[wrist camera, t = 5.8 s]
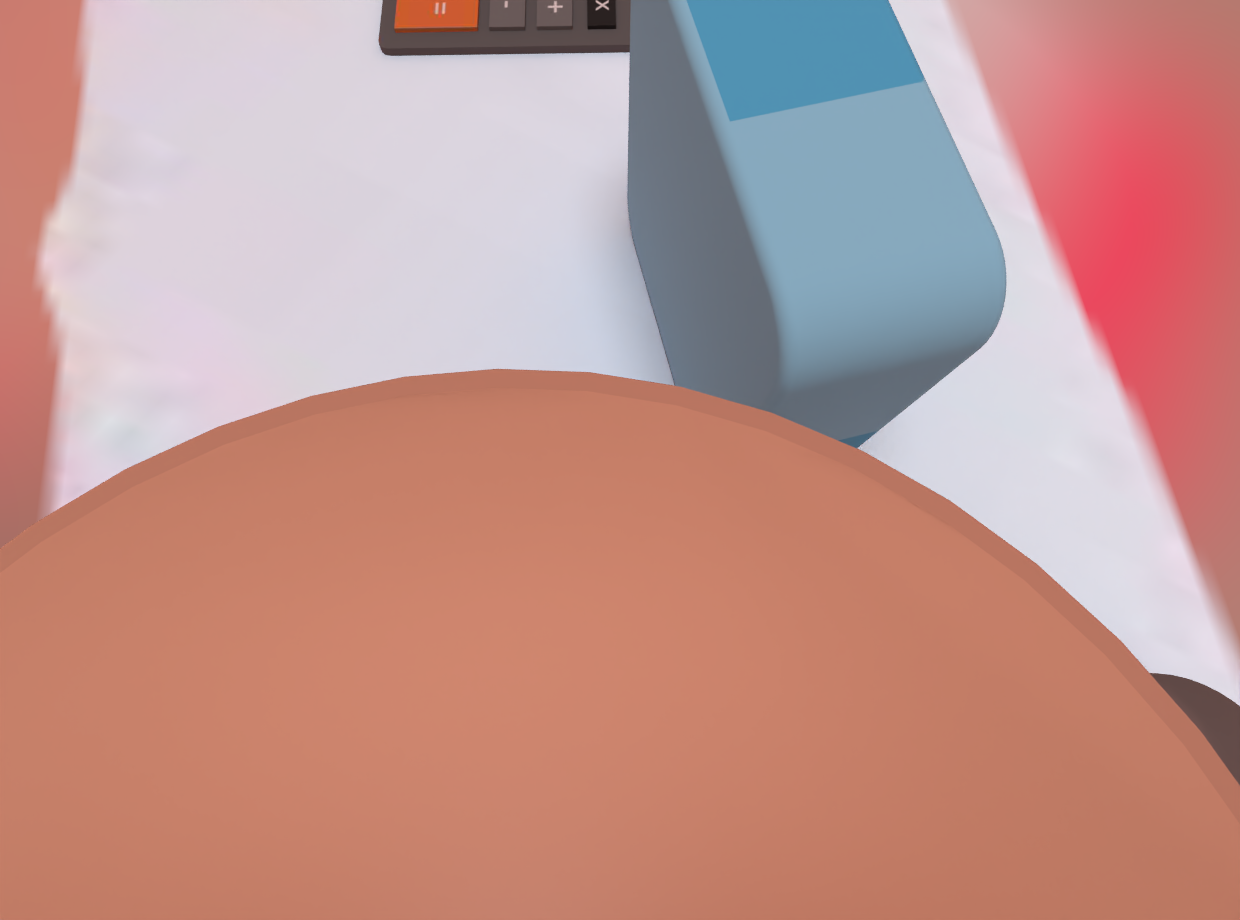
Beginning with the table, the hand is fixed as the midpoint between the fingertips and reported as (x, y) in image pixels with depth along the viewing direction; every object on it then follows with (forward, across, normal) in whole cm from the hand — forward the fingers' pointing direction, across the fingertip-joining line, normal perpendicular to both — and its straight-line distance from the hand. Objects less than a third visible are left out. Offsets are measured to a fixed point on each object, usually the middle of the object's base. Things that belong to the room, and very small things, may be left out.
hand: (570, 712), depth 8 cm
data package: (+18, -5, +2) cm, 19 cm away
